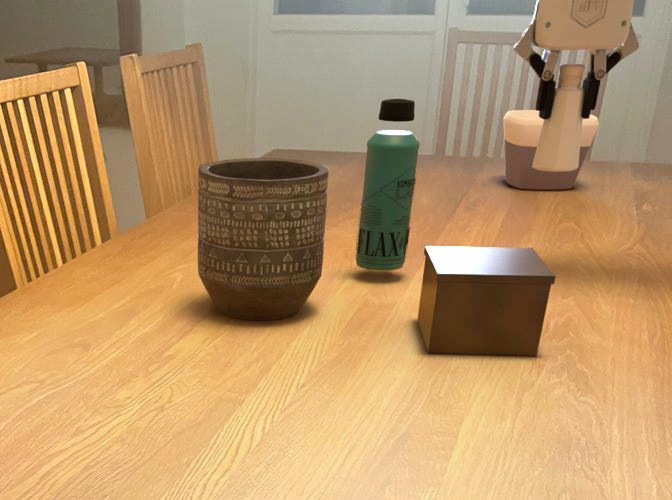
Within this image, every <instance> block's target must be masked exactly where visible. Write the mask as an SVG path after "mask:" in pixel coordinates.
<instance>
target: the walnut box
mask: <svg viewBox="0 0 672 500" xmlns="http://www.w3.org/2000/svg"><path fill="white" fill-rule="evenodd" d="M423 255H424V256H425V258H424V265H423V273H422V280H421V281H422V282H421V289H420V296H419V305H418V312H417V320H416V321H417V324H418V328H419V331H420V333H421V336H422V339H423V343H424V346H425V348H426V352H427V353H428V354H444V355H446V354H447V355H477V356H478V355H481V356H485V355H487V356H515V357H516V356H519V357H520V356H522V357H537V356H538V352H539V346H540V341H541V336H542V332H543V326H544V322H545V318H546V312H547V307H548V303H549V297H550V293H551V288H552V285H555V282H556V278H557V277H556V275H555V273H554V272H553V271H552V270H551V268H549V266H548V265H547V264H546V262H545V261H544V260H543V259H542V258H541V256H540V255H539V254H538V253H537V251H536V250H535V249H534V248H533V247H511V246H510V247H509V246H508V247H506V246H505V247H504V246H502V247H501V246H456V245H455V246H453V245H449V246H448V245H424V249H423Z"/></svg>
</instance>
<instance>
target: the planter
mask: <svg viewBox="0 0 672 500" xmlns="http://www.w3.org/2000/svg"><path fill="white" fill-rule="evenodd" d="M197 171H198V172H197V175H198V176H197V177H198V179H197V181H198V183H197V187H198V190H197V234H198V238H197V274H198V277H199V279H200V281H201V283H202V285H203V286H204V288H205V291H206V292H207V294H208V296H209V298H210V299H211V301H212V302H213V304H214V306H215V307H216V309H217V311H219V312H220V314H223V315H225V316H227V317H230V318H234V319H238V320H246V321H274V320H281V319H286V318H289V317H292V316H294V315H296V314H297V313H299V312H300V310H301V309H302V307H303V306H304V305H305V304H306V302H307V300H308V299H309V297H310V296H311V294H312V292H313V291H314V289H315V288H316V286H317V284H318V283H319V281H320V280H321V279H320V278H321V276H322V273H323V265H324V251H325V249H324V248H325V232H326V231H325V230H326V220H327V207H328V188H329V187H328V186H329V173H330V169H329V167H328V166H326V165H324V164H321V163H317V162H314V161H307V160H301V159H295V158H283V157H281V158H280V157H246V158H245V157H244V158H231V159H230V158H229V159H221V160H216V161H210V162H206V163H202V164H200V165H199V167H198V169H197Z"/></svg>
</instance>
